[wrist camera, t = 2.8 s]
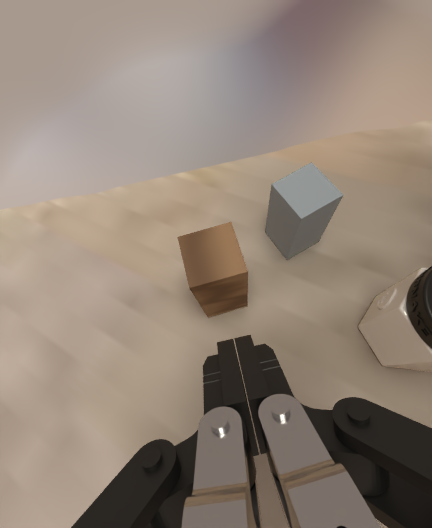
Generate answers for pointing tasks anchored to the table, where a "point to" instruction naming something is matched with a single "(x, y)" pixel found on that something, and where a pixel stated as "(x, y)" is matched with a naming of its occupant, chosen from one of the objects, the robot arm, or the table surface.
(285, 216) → the grey block
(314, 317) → the table surface
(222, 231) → the walnut block
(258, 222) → the table surface
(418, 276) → the jar
